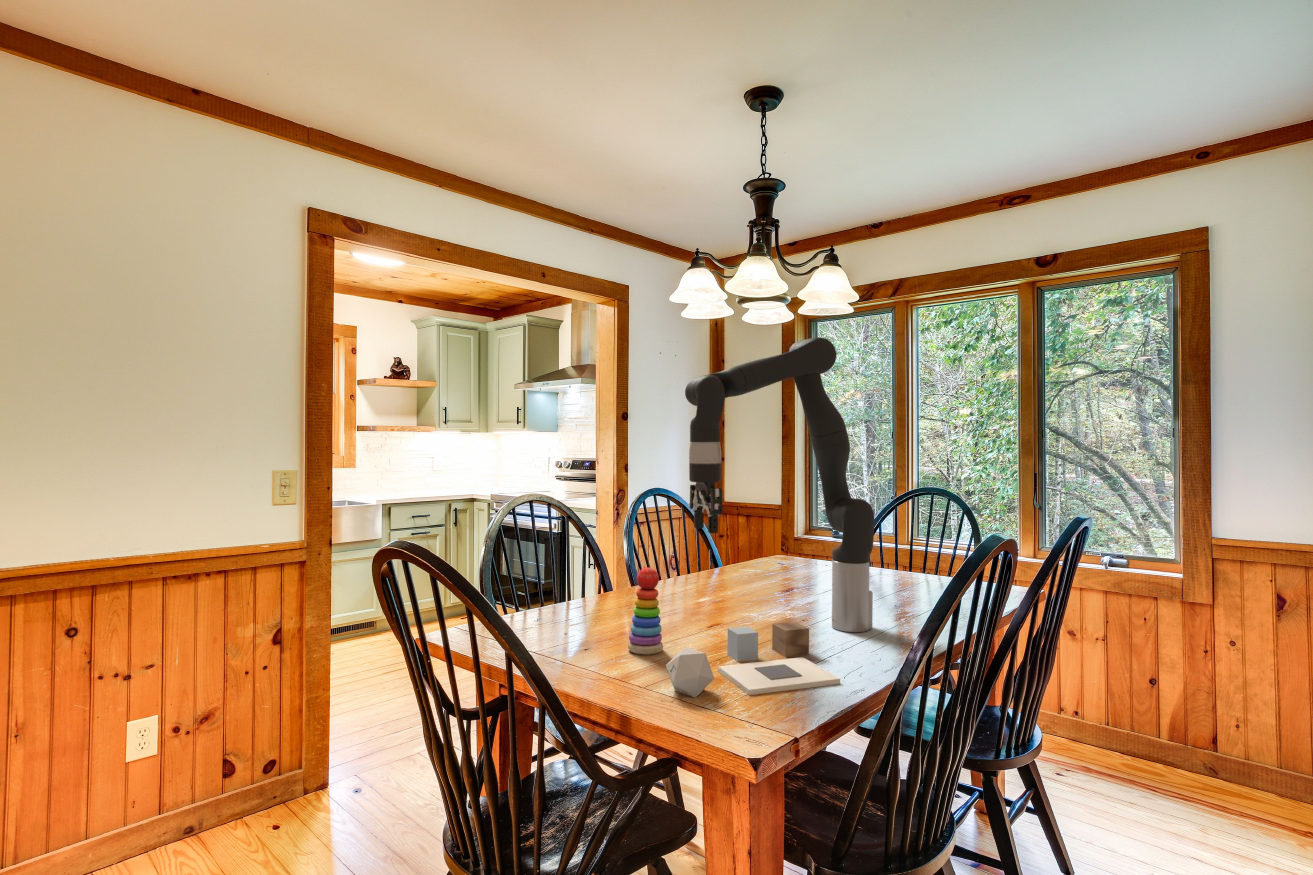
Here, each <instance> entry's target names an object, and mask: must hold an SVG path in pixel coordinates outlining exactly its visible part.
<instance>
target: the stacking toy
mask: <svg viewBox="0 0 1313 875" xmlns="http://www.w3.org/2000/svg"><path fill="white" fill-rule="evenodd" d="M659 580H660V576H659V573H658V571H656V570H655V569H654V568H652V567H644V568H641V569H640V570H639V571H638V573H637V575H636V582H637V584H638V586H639V587H640V588H638V589H637V590H636V592H635V594H636V597H637V598H635V600H634V605H635V607H634V608H633V613H634V615H633V616H632V619H631V621H632V625H631V626H630V633H629V635H628V640H629V642H628V644H627V649H628V650H629V651H630V652H631V653H633V654H637V655H643V656H645V655H646V656H647V655H655V654H659V653H660V652H661V651H662V650H663V648H664V644H663V642H662V639H663V636H662V634H661V633H662V630H663V628H662V626H661V624H660V623H661V617H660V616H659V615H660V614H661V610H660V607H659V599H658V596H659V591H658V589H656V587H657V586H658V584H659V583H660V582H659Z"/></svg>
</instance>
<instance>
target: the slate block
mask: <svg viewBox="0 0 1313 875" xmlns="http://www.w3.org/2000/svg"><path fill="white" fill-rule="evenodd" d="M727 656H729V658H731V659H733V660H734V661H736V662H737V663H739V662H749V661H758V660H759V632H758V631H757V630H755V629H753V628H751V627H750V626H738V627H728V628H727Z"/></svg>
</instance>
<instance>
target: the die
mask: <svg viewBox="0 0 1313 875" xmlns="http://www.w3.org/2000/svg"><path fill="white" fill-rule="evenodd" d="M710 664H711V663H709V659H708V657H707V654H706V652H702V651H700V650H696V649H692V648H689V647H684V648H683V649H682V650H680V652H678V653H676V655H675V656H674V657H673V658H672V659H671V660H670V661H669V662H668V663H666V664H665V667H666V670H667V673H668V676H669V678H670V681H671V683H672V687H673V690H674V691H675V692H678V693H681V694H683V695H686V696H689V697H693V698H696V697H697V696H699V695H700V694H701V693H702V692H703V690H705V689H706V688H707V687H708V686H709V685H710V684H711V683H712V682H713V681H714V680H715V676H714V673H713V671H712V667H711V665H710Z"/></svg>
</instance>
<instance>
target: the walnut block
mask: <svg viewBox="0 0 1313 875" xmlns="http://www.w3.org/2000/svg"><path fill="white" fill-rule="evenodd" d="M771 626H772V630H771V634H772V636H771V640H772V641H771V643H772V644H771V647H772V648H771V650H772V651H774V652H776V653H777V654H779V655H780V656H782V657H784V658H793V657H794V658H795V657H801V656H802V657H803V656H809V655H810V628H809V627H807V626H805V625H803V624H801V623H799V622H797V621H788V622H787V621H786V622H777V623H772V624H771Z"/></svg>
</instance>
